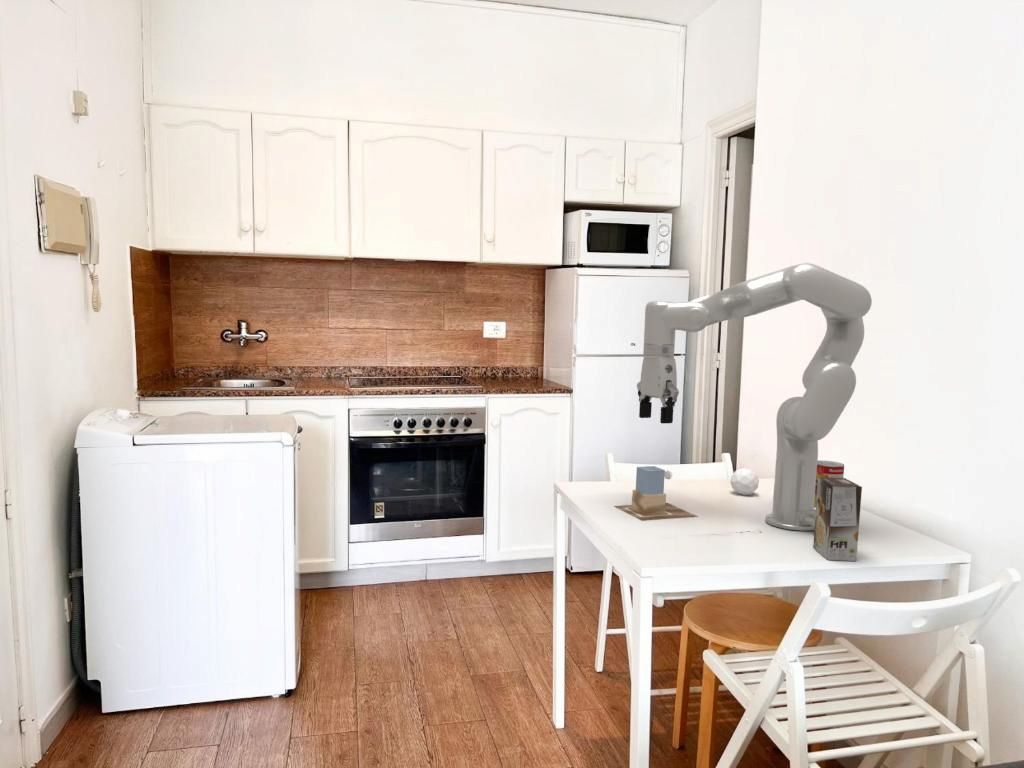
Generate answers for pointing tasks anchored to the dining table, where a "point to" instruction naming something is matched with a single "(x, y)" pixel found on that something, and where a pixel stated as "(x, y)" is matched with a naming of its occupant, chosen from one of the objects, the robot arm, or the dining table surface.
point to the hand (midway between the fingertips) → (655, 420)
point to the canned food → (828, 472)
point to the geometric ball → (744, 481)
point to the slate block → (650, 480)
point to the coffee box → (837, 518)
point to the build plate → (670, 513)
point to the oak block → (648, 503)
